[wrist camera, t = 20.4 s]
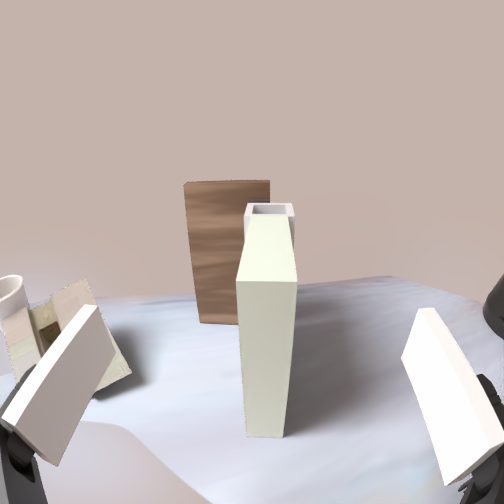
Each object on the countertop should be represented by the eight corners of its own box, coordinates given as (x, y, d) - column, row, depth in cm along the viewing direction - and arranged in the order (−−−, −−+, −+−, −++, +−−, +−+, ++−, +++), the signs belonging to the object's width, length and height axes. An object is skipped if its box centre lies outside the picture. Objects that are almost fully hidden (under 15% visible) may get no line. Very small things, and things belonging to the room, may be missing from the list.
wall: (142, 374, 36) (97, 285, 40) (135, 372, 29) (83, 262, 32) (53, 418, 29) (14, 327, 32) (29, 423, 21) (-13, 313, 25)
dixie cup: (5, 335, 34) (-18, 285, 30) (42, 320, 40) (22, 269, 35) (7, 363, 29) (-23, 308, 25) (48, 346, 34) (23, 290, 30)
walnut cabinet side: (276, 348, 36) (279, 192, 28) (192, 344, 37) (170, 194, 29) (276, 318, 42) (278, 180, 34) (202, 316, 43) (187, 181, 34)
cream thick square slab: (289, 437, 24) (308, 281, 16) (239, 436, 24) (224, 280, 17) (286, 332, 39) (291, 203, 32) (251, 331, 39) (247, 203, 32)
